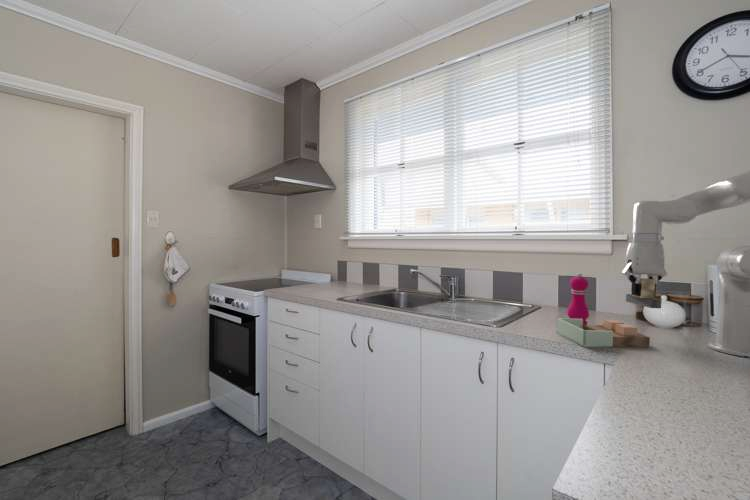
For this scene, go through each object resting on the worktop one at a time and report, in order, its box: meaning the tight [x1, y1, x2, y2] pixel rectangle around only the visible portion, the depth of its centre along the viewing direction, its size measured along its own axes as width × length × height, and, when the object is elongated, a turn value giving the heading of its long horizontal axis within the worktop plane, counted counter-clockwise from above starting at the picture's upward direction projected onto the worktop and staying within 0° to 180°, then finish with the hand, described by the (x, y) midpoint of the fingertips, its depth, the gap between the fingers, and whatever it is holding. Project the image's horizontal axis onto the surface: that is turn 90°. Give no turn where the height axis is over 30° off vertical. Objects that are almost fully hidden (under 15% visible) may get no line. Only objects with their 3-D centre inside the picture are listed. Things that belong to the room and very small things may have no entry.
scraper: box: [625, 277, 662, 309], centre depth 113 cm, size 4×11×8 cm, turn 0°
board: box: [583, 324, 651, 348], centre depth 114 cm, size 12×14×3 cm
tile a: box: [615, 323, 638, 335], centre depth 111 cm, size 4×4×2 cm
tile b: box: [602, 319, 624, 330], centre depth 117 cm, size 4×4×2 cm
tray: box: [556, 317, 613, 348], centre depth 114 cm, size 9×16×5 cm, turn 0°
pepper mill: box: [566, 272, 590, 325], centre depth 132 cm, size 7×7×20 cm
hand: (643, 294), depth 113 cm, fingers closed on scraper, 4 cm apart
